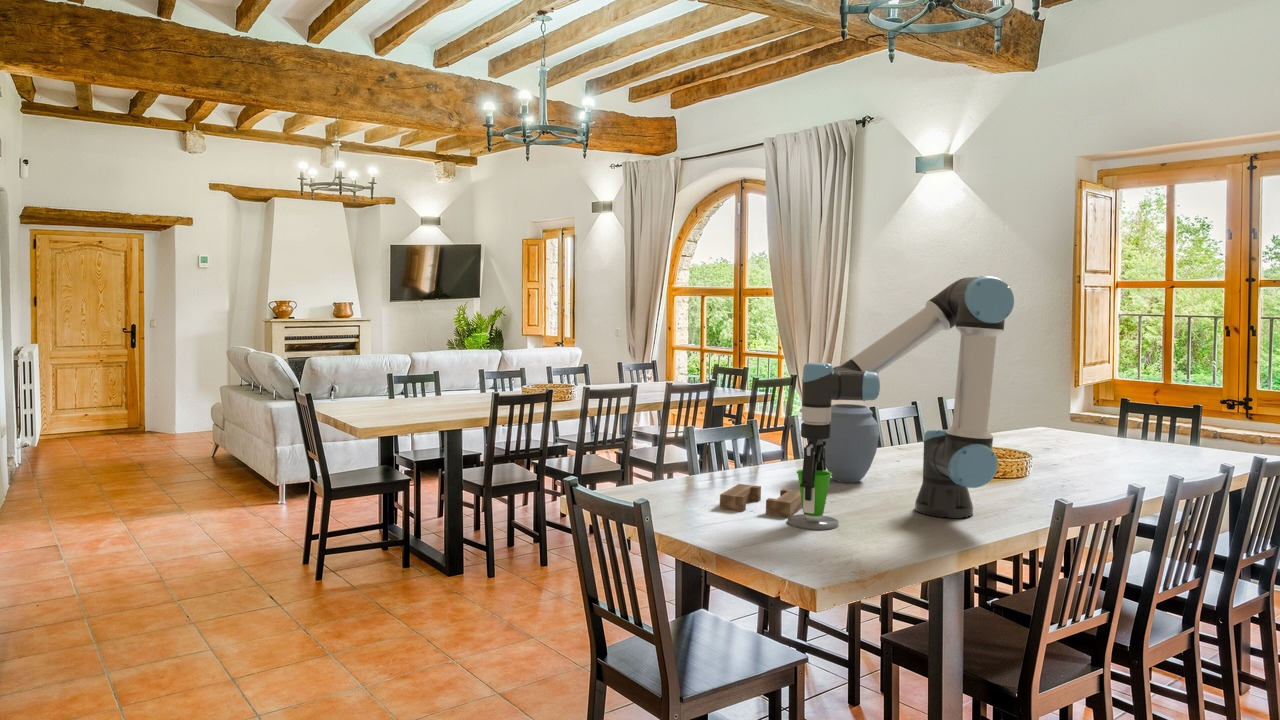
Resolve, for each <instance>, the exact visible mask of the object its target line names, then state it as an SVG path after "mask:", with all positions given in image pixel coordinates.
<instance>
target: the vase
mask: <svg viewBox="0 0 1280 720" xmlns="http://www.w3.org/2000/svg"><path fill="white" fill-rule="evenodd" d="M829 424H830V425H831V433H830V438H829V439H823V441H826V471H829V472H831V473H832V475H831V476H830V477H832V479H833V480H834V481H836V482H839V483H845V484H855V483H858V482H860V481H861V480H863V478H864V477H865V476H866V474H867V473H868V471H869V470H870V468H871V466H872V463H873V460H874V458H875V456H876V453H877V449H878V443H879V440H880V439H879V438H880V429H879V423H878V422H877V420H876V419H875V417H873V411H872V410H871V409H870V408H869V407H868V406H865V405H861V404H848V403H841V404H839V403H838V404H831V422H829Z"/></svg>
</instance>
